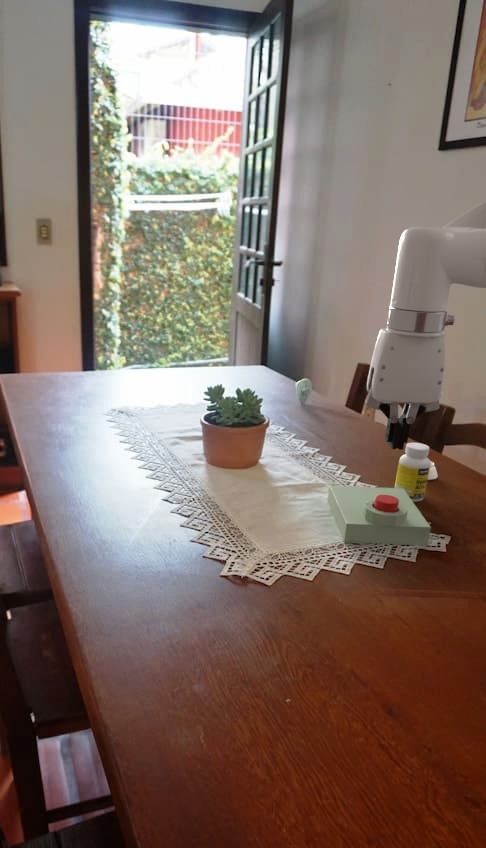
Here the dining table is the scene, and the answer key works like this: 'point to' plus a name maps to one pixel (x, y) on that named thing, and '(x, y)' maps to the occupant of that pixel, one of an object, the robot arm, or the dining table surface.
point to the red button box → (376, 517)
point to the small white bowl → (432, 472)
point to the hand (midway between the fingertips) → (395, 446)
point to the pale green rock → (303, 390)
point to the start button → (386, 503)
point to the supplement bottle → (414, 471)
